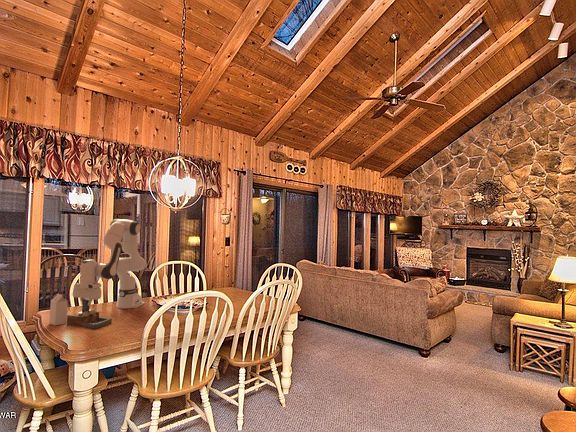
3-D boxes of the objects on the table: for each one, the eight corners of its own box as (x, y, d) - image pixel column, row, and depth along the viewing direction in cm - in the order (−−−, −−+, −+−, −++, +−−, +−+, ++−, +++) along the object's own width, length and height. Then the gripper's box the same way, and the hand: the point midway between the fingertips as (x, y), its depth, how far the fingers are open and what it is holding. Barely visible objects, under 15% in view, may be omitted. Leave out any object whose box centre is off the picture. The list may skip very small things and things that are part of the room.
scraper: (81, 316, 223) (82, 301, 223) (77, 315, 223) (78, 300, 223) (93, 312, 232) (94, 298, 232) (89, 312, 233) (90, 297, 233)
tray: (98, 321, 233) (99, 317, 233) (111, 323, 231) (111, 318, 231) (81, 327, 220) (82, 322, 220) (94, 329, 217) (95, 324, 217)
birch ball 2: (91, 309, 232) (96, 308, 231) (92, 315, 232) (97, 314, 231) (86, 310, 228) (91, 309, 227) (88, 316, 228) (93, 315, 227)
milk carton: (61, 321, 230) (62, 292, 231) (66, 323, 227) (68, 294, 227) (49, 323, 224) (50, 294, 225) (54, 325, 221) (56, 296, 221)
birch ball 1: (85, 311, 227) (89, 310, 226) (87, 317, 227) (91, 315, 225) (80, 313, 223) (84, 311, 222) (81, 319, 223) (86, 317, 222)
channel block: (84, 319, 236) (84, 310, 236) (98, 321, 233) (99, 311, 233) (66, 325, 223) (67, 315, 223) (81, 327, 220) (82, 317, 220)
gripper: (70, 283, 227) (69, 304, 227) (95, 286, 222) (94, 307, 222) (78, 282, 233) (77, 302, 233) (103, 284, 228) (102, 305, 228)
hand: (86, 305), depth 228 cm, fingers closed on scraper, 3 cm apart
